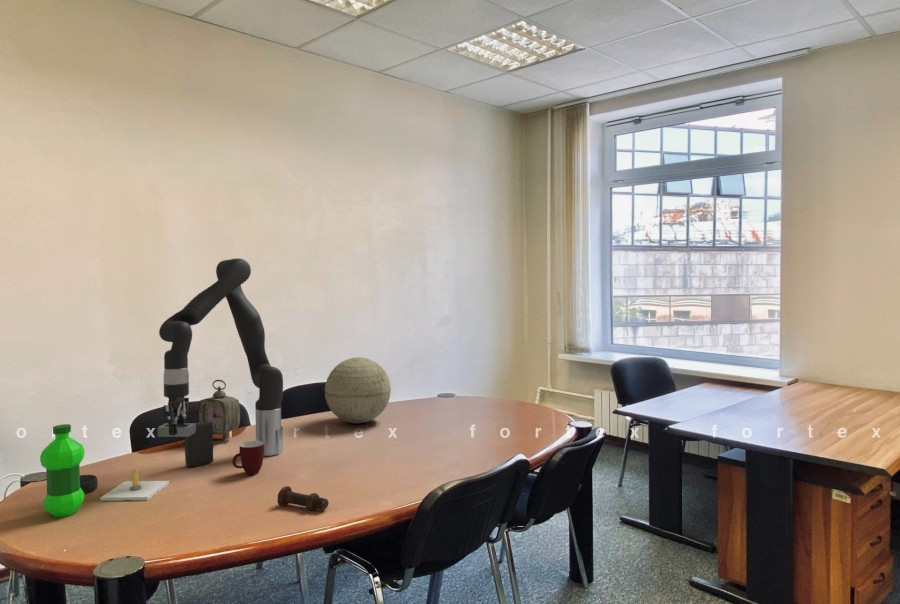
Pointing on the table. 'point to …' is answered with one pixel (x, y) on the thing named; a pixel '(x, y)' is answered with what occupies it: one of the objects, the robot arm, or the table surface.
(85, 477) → the smart speaker
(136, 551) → the table surface
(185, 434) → the steel link
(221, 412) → the tabletop clock
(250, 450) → the mug
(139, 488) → the keeper post
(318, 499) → the bolt
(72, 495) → the plastic bottle
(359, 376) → the concrete ball
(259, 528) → the table surface
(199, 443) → the dark grey upright slab
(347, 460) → the table surface
